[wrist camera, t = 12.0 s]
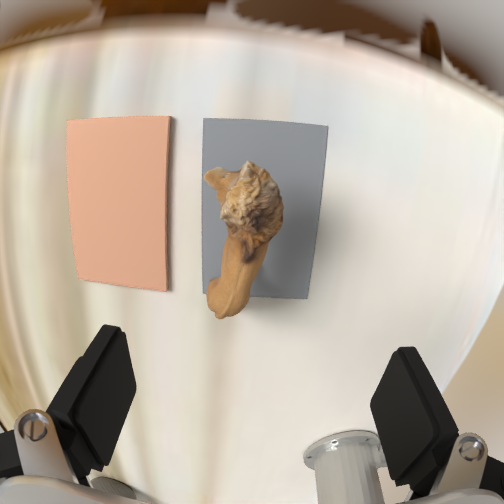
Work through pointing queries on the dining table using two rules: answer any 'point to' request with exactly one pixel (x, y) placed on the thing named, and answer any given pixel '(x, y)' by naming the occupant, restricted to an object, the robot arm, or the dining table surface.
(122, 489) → the lamp
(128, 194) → the terracotta tile
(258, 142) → the slate tile
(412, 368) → the robot arm
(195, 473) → the dining table surface
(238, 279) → the lion figurine
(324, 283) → the dining table surface
